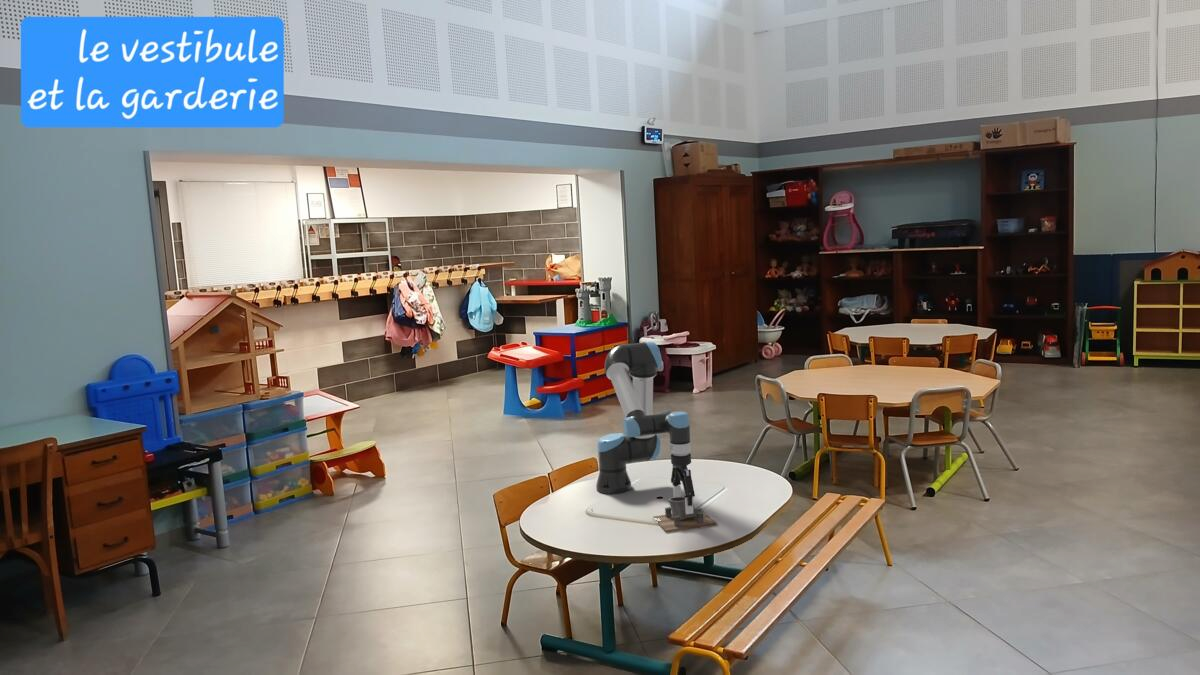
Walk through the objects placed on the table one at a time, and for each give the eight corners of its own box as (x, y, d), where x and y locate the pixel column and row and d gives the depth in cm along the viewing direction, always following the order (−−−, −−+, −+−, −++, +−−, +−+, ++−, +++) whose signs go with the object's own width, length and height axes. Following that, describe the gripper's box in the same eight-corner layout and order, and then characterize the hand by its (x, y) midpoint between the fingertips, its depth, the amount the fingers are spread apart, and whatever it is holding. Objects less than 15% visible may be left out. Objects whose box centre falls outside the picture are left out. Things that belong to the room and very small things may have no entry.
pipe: (702, 521, 321) (701, 501, 320) (668, 521, 323) (667, 501, 322) (703, 516, 327) (702, 495, 326) (669, 516, 329) (668, 496, 328)
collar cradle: (652, 519, 330) (652, 507, 330) (701, 511, 335) (701, 500, 334) (665, 532, 315) (665, 520, 314) (717, 525, 319) (716, 513, 319)
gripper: (661, 446, 333) (663, 499, 336) (682, 463, 309) (685, 519, 311) (679, 444, 334) (682, 496, 337) (701, 460, 310) (704, 516, 313)
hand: (683, 508), depth 324 cm, fingers open, 13 cm apart
